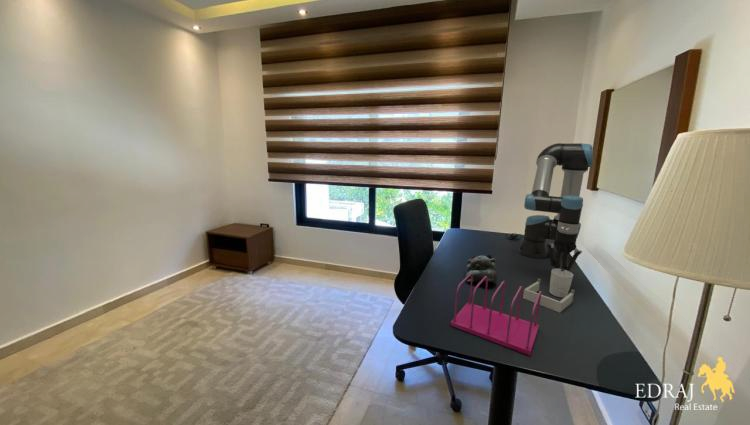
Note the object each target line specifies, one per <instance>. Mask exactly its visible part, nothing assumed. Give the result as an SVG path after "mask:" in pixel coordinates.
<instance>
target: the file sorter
mask: <svg viewBox="0 0 750 425" xmlns="http://www.w3.org/2000/svg"><path fill="white" fill-rule="evenodd" d="M470 276H471V282H470V288H469V297H468V301H467V302H466V304H464V306H463V307H462V308H461V309H460V310H459V311H458V310H457V309H458V298H459V297H458V296H459V292H460V291H459V290H460V287H461V286H462V284H464V283H465V282H467V280H466V279H467V278H469V277H470ZM485 279H486V282H485V288H484V290H485V291H484V299H483V300H484V302H483V306H480V305H477V304H475V295H476V291H477V289H478V288H479V286H480V285H481V284H482V283H483V281H484V280H485ZM488 284H489V282H488V277H487V276H485V277H484V278H483V279H482V280H481V281H480V282H478V283H477V285H476V286H475V287H474V289H473V274H472V273H470V274H469V275H468V276H467V277H466V276H465V278H464V279H462V281H461V282H460V283H459V284H458V286H457V287H456V288H457V289H456V292H455V302H454V313H453V314H454V316H453V319H452V320H451V321H450V326H451V327H453V328H456V329H458V330H461V331H464V332H467V333H469V334H472V335H475V336H477V337H480V338H482V339H485V340H487V341H490V342H493V343H496V344H498V345H501V346H504V347H507V348H508V349H512V350H514V351H517V352H519V353H521V354H525V355H527V356H531V354H532V350H533V348H534V344H535V341H536V338H537V335H538V331H539V328H540V327H539V326H540V325H539V324H537V323H538V317H539V309H540V306H541V305H540V299H541V295H542V294H543V293H542V290H539V291H538V296H537V298H536V301H535V303H534V304H533V307H532V311H531V317H530V321H527V320H524V319H521V318H519V317H520V311H521V310H520V309H521V304H522V298H523V297H522V296H523V291H524V290H523V289H524V287H523V286H522V285H520V286H519V288H518V290H517V292H515V295H514V297H513V299H512V302H511V304H510V308H509V314H506V313H503V312H502V310H503V304H504V298H505V288H506V281H505V280H503V281H501V283H500V284H499V286H497V288H496V290H495V292H494V293H493V295H492V297H491V300H490V307H489V308H487V307H486V305H487V304H486V303H487V293H488ZM501 288H502V293H501V300H500V309H499V311H496V310H493V305H494V300H495V297H496V295H497V293H498V292H499V290H500V289H501ZM472 289H473V290H472ZM518 295H519V297H518ZM517 297H518V298H519V300H518V306H517V313H516V317H515V316H513V315H512V314H513V308H514V304H515V301H516V299H517ZM537 302H538V304H537ZM535 310H536V312H535ZM457 311H458V313H457ZM534 315H535V318H534Z"/></svg>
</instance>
